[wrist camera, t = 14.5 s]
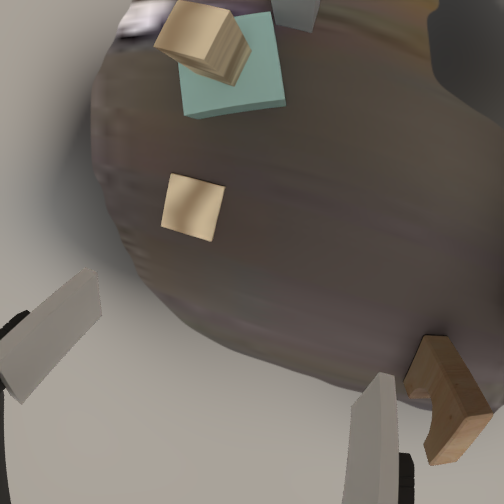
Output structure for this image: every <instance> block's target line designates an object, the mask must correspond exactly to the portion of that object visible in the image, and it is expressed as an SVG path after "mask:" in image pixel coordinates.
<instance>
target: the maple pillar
mask: <svg viewBox="0 0 504 504" xmlns="http://www.w3.org/2000/svg"><path fill="white" fill-rule="evenodd" d="M153 47H155V48H156V49H158V50H160V51H161V52H163V53H165V54H166V55H168V56H169V57H171V58H173V59H174V60H176V61H177V62H179V63H180V64H182V65H184V66H185V67H187V68H188V69H190V70H191V71H193V72H194V73H196V74H198V75H201V76H204V77H207V78H210V79H213V80H216V81H219V82H222V83H225V84H228V85H230V86H233V87H235V85H236V83H237V80H238V78H239V76H240V74H241V72H242V70H243V68H244V66H245V64H246V62H247V60H248V58H249V56H250V54H251V52H252V51H251V49H250V47H249V45H248V43H247V41H246V39H245V37H244V35H243V33H242V32H241V30H240V28H239V26H238V24H237V22H236V20H235V19H234V17H233V15H232V13H231V11H230V10H226V9H222V8H218V7H213V6H209V5H204V4H199V3H194V2H188V1H182V0H178V1H177V3H176V4H175V6H174V8H173V10H172V12H171V13H170V15H169V17H168V19H167V21H166V23H165V24H164V26H163V28H162V30H161V32H160V34H159V36H158V38H157V40H156V42H155V44H154V46H153Z"/></svg>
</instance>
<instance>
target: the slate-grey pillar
mask: <svg viewBox="0 0 504 504" xmlns="http://www.w3.org/2000/svg"><path fill="white" fill-rule="evenodd" d="M271 4H272V8H273V13H274V18H275V23H276V25H280V26H285V27H289V28H294V29H298V30H302V31H306V32H310V33H312V30H313V27H314V23H315V20H316V16H317V13H318V9H319V6H320V0H271Z"/></svg>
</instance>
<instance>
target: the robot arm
mask: <svg viewBox="0 0 504 504" xmlns="http://www.w3.org/2000/svg"><path fill="white" fill-rule="evenodd" d="M101 316H102V312H101V304H100V295H99V285H98V274H97V272H95V271H93V270H90V269H88V268H86V267H85V268H84V269H83V270H81V271H80V272H79V273H78V274H77V275H75V276H74V277H73V278H72V279H70V280H69V281H68V282H66V283H65V284H64V285H63V286H62V287H60V288H59V289H58V290H57V291H55V292H54V293H53V294H52V295H51V296H50V297H48V298H47V299H46V300H45V301H44V302H42V303H41V304H40V305H39V306H38V307H37V308H35V309H34V310H33V311H32V312H31V313H30V312H29V311H28V310H26V311H23V312H21V313H19V314H17V315H16V316H14V317H13V318H12V319H11V320H10V321H9V323H6V324H5V325H4V326H3V328H1V329H0V504H11V501H10V494H9V488H8V480H7V472H6V462H5V447H4V392H3V390H4V389H5V388H6V389H7V390H8V392H9V394H10V395H11V396H12V397H13V398H14V399H16V400H17V401H18V402H19V403H20V404H22V403H24V401H25V400H26V399H27V398H28V397H29V395H30V394H31V393H32V392H33V391H34V389H35V388H36V387H37V386H38V385H39V384H40V383H41V382H42V380H43V379H44V378H45V377H46V376H47V375H48V374H49V372H50V371H51V370H52V369H53V368H54V367H55V366H56V364H58V362H59V361H60V360H61V359H62V358H63V357H64V356H65V355H66V354H67V352H68V351H69V350H70V349H71V348H72V347H73V346H74V345H75V344H76V343H77V342H78V340H80V338H81V337H82V336H83V335H84V334H85V333H86V332H87V331H88V330H89V329H90V328H91V327H92V326H93V325H94V324H95V323H96V321H98V320H99V318H100V317H101ZM342 504H414V463H413V460H412V458H411V455H410V454H409V453H399V440H398V418H397V401H396V389H395V378H394V376H393V375H389V374H385V373H381V372H379V373H378V374H377V376H376V377H375V378H374V380H373V381H372V382H371V383H370V385H369V386H368V387H367V388H366V390H365V391H364V392H363V393H362V395H361V396H360V397H359V398H358V399H357V401H356V402H355V403H354V404H353V405H352V407H351V422H350V435H349V447H348V458H347V467H346V476H345V484H344V491H343V499H342Z"/></svg>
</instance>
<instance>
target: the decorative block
mask: <svg viewBox="0 0 504 504" xmlns="http://www.w3.org/2000/svg"><path fill="white" fill-rule="evenodd" d="M403 383H404V386H405V388H406V391H407V394H408V397H409V398H410V399H414V398H431V401H432V405H433V408H432V422H431V426H430V431H429V434H428V436H427V438H426V440H425V442H424V448H425V452H426V455H427V459H428V462H429V465H431V466H434V465H439V464H446V463H452V462H456V461H457V460H458V459H459V458H460V457H461V456H462V455H463V453H464V452H465V451H466V450H467V449H468V448H469V446H470V445H471V444H472V443H473V441H474V440H475V439H476V438H477V437H478V435H479V434H480V433H481V431H482V430H483V429H484V428H485V426H486V425H487V424H488V422H489V421H490V420H491V418H492V417H493V412H492V410H491V408H490V406H489V404H488V403H487V401H486V399H485V397H484V395H483V394H482V392H481V390H480V388H479V387H478V385H477V383H476V381H475V380H474V378H473V376H472V374H471V373H470V371H469V369H468V368H467V366H466V365H465V363H464V361H463V360H462V358H461V356H460V355H459V353H458V352H457V350H456V349H455V347H454V345H453V344H452V342H451V341H450V339H449V338H448V336H430V335H425V336H424V337H423V339H422V341H421V344H420V346H419V349H418V351H417V353H416V355H415V358H414V360H413V362H412V364H411V367H410V369H409V371H408V373H407V375H406V377H405V379H404V382H403Z"/></svg>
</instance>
